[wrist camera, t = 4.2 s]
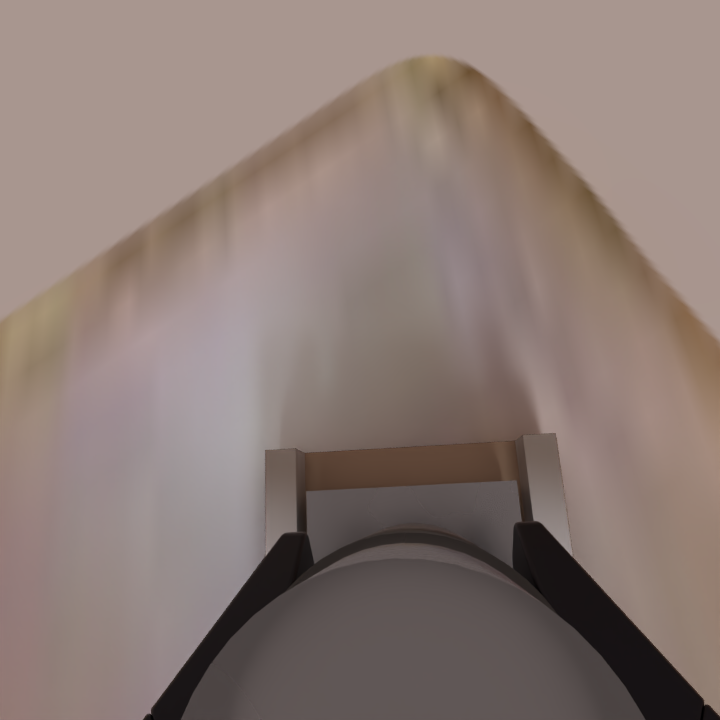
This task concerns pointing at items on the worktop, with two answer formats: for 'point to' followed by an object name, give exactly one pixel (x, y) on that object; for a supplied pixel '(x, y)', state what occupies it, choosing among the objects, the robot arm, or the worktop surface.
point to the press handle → (411, 622)
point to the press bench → (418, 477)
